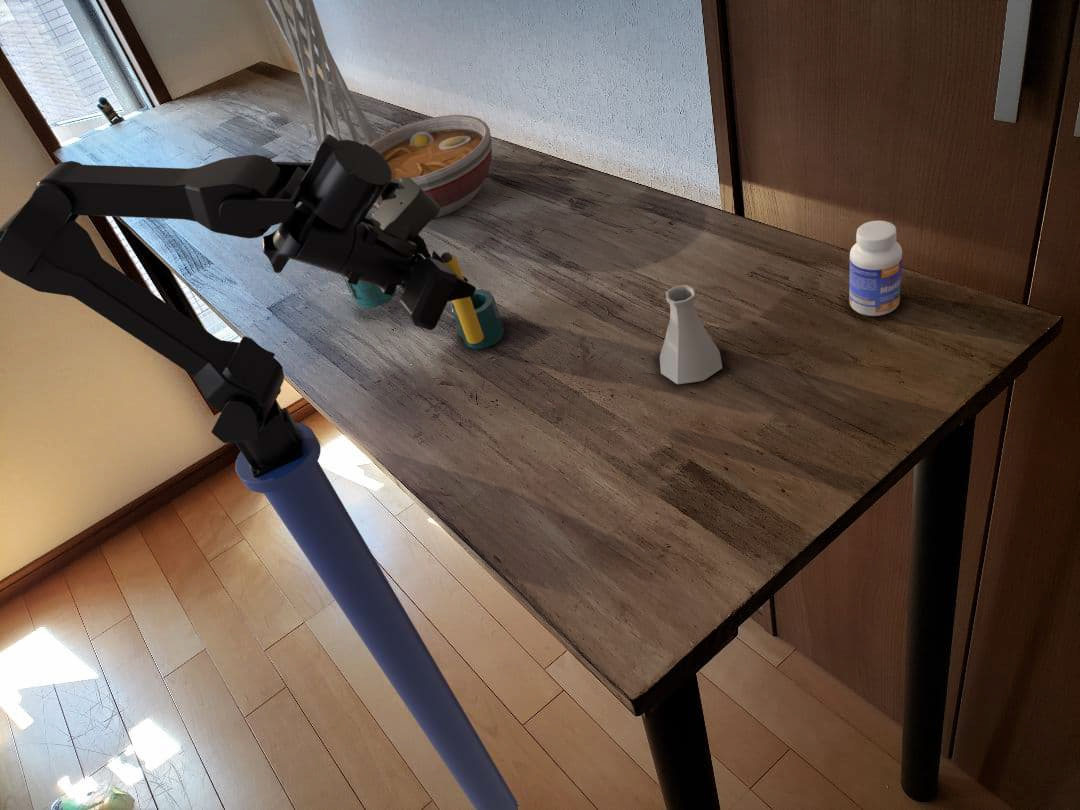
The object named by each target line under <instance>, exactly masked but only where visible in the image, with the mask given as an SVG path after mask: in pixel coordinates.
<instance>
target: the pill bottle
mask: <svg viewBox="0 0 1080 810" xmlns="http://www.w3.org/2000/svg"><path fill="white" fill-rule="evenodd" d="M855 236H856V237H855V241H856V242H855V243H854V245H852V246H851V249H850V251H849V287H848V289H849V290H848V291H849V292H848V293H849V295H848V300H849V301H848V302H849V305H850V307H851V309H852V310H853V311H855V312H856V313H858V314H860V315H863V316H868V317H879V316H883V315H887V314H889V313H891V312H893V311H895V310H896V309H897V307H898V306H899V305H900V302H901V301H900V299H901V285H902V283H901V282H902V267H903V248H902V246H901V244H900V243H899V242H898V241H897V238H898V237H897V236H898V235H897V228H896V225H894V224H893V223H892V222H889V221H887V220H886V221H885V220H871V221H867V222H864V223H862V224H861V225H860V226H859V227H858V228H857V229H856V235H855Z"/></svg>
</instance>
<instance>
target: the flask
mask: <svg viewBox="0 0 1080 810" xmlns="http://www.w3.org/2000/svg"><path fill="white" fill-rule="evenodd" d="M695 291H696V290H695V288H694V287H693V286H690V285H688V284H681V285H675V286H673V287H671V288H670V289H668V290H667V291H665V298H666V302H667V303H668V304H669V308H670V309H669V310H670V312H669V314H670V315H669V321H668V326H667V329H666V335H665V338H664V340H663V343H662V347H661V351H660V354H659V365H660V366H659V367H660V368H659V369H660V374H661V375H663V376H664V377H666V378H667V379H669V380H670V381H672V382H673V383H674V384H676V385H683V384H690V383H697V382H704V381H706V380H707V379H708V378H710V377H711V376H713V375H715V374H716V373H717V372H719V371H720V370H722V369H723V362H722V358H721V357H722V356H721V352H720V350H719V348H718V347H717V345H716V344H715V342H714V340H713V339H712V337H711V336H710V334H709V333H708V331H707V329H706V328H705V326H704V324H703V323H702V321H701V319H700V317H699V315H698V311H697V309H696V307H695V303H694V301H695V300H696V292H695Z"/></svg>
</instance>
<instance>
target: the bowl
mask: <svg viewBox="0 0 1080 810" xmlns="http://www.w3.org/2000/svg"><path fill="white" fill-rule="evenodd" d="M369 146H370V147H372V148H373V149H374V150H376V151H377V152H378V153H379V154H380V155H381V156H382V157H383V158H384V159H385V160H386V162H387V163H388V165H389V167H390V169H391V172H392V178H394V179H397V180H399V181H401V180H400V179H399V178H400V177H401V176H403V177H404V178H407V177H409V178H411V179H412V180H413V181H414V182H415V183H416V184H417V185H418V186H419V187H420V188H421V189H422V190H423V191H425V192H426V193H427V194H428V195H429V196H430V197H431V198H432V199H433V200H434V201H435V202H436V203H437V204H438V205H439V206H440V212H439V214H438V215H437V216H436V217H435V219H437V218H442V217H444V216H447V215H450V214H452V213H454V212H456V211H458V210H460V209H461V208H464V206H466V205H468V203H469V202H471V200H472V199H473V198H474V197H475V196H476V195H477V194H478V193H479V192H480V191H481V189H482V187H483V186H484V183H485V181H486V180H487V177H488V175H489V171H490V167H491V163H492V157H493V155H492V153H493V148H492V146H493V142H492V135H491V130H490V127H489V125H488V123H486V122H485V121H484V120H482V119H481V118H478V117H475V116H472V115H465V114H450V115H449V114H448V115H440V116H434V117H429V118H424V119H421V120H418V121H414V122H411V123H409V124H405V125H403V126H401V127H398V128H396V129H394V130H392V131H390V132H388V133H386V134H384V135H382V136H380V137H379V139H378V140H376V141H374V142H373V143H372V144H370V145H369ZM378 202H379V203H380V204H381V201H380V200H379V198H378V199H377V201H376V202H375V204H377V203H378Z"/></svg>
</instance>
